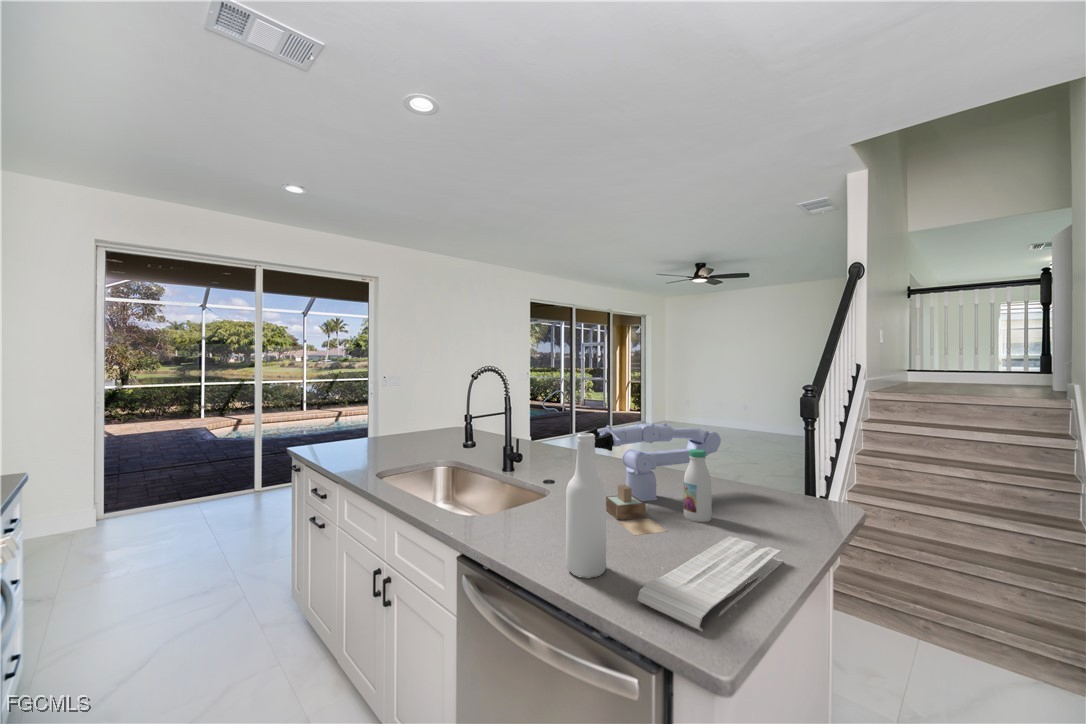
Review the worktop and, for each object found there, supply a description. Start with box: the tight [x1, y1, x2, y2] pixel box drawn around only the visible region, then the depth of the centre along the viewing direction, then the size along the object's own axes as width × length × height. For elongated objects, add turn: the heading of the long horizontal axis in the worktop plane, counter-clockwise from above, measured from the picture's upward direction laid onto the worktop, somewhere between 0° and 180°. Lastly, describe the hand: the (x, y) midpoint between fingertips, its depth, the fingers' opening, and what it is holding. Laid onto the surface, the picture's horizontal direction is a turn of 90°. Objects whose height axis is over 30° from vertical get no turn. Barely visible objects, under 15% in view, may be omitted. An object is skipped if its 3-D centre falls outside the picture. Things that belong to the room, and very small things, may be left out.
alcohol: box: [565, 432, 607, 578], centre depth 98 cm, size 9×9×30 cm
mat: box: [618, 518, 668, 536], centre depth 122 cm, size 10×10×1 cm
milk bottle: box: [683, 449, 712, 523], centre depth 129 cm, size 8×8×20 cm
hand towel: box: [636, 535, 784, 632], centre depth 92 cm, size 12×4×40 cm
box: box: [606, 495, 646, 521], centre depth 133 cm, size 9×9×4 cm
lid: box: [608, 483, 643, 505], centre depth 133 cm, size 8×8×5 cm
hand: (584, 440), depth 142 cm, fingers open, 7 cm apart
